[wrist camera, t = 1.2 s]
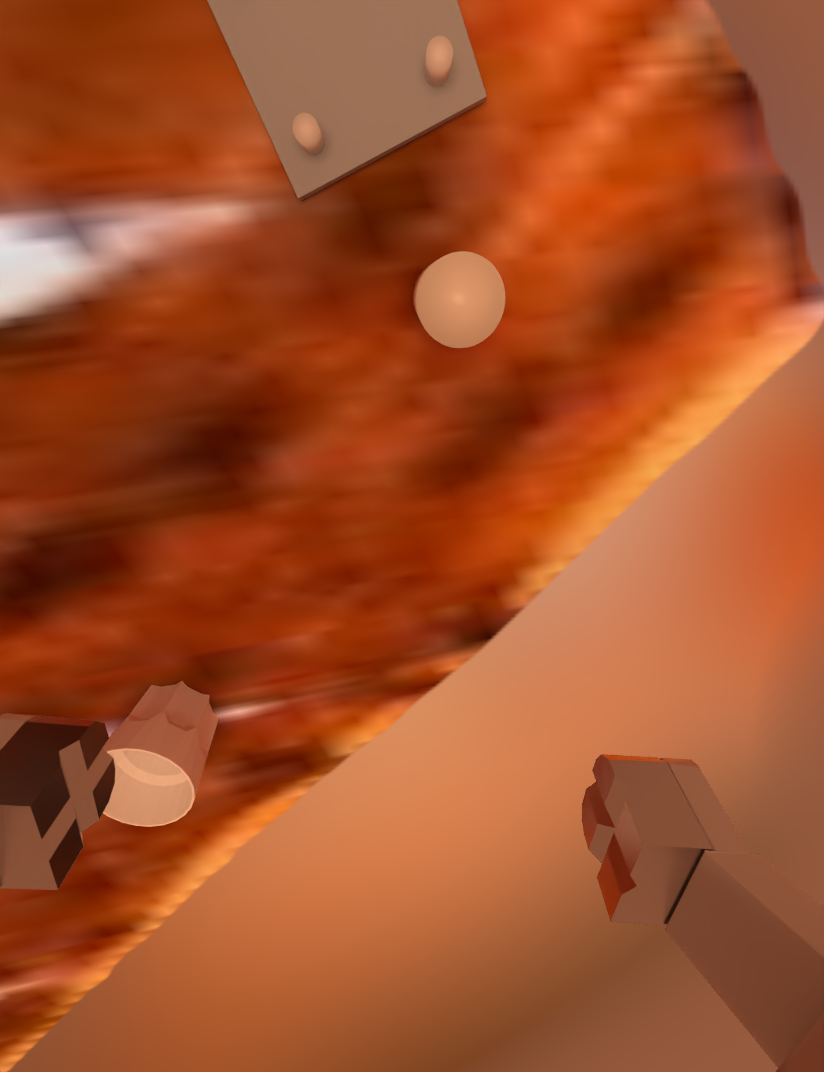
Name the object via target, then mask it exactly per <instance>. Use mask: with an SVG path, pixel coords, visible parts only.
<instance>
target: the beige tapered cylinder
mask: <svg viewBox="0 0 824 1072" xmlns="http://www.w3.org/2000/svg"><path fill="white" fill-rule="evenodd" d="M209 698H210V695H206V694H201V693H199V692H197V691H195V690H193V689H191V688H189V687H187V686H186V685H185V684H184V682H183V681H181V682H179V683H177V684H176V685H168V686H156V685H151V686H150V688H149V689H148V690H147V692H146V693H145V694H144V696H143V697H142V698H141V700H140V701H139V702H138V704H137V705H136V706H135V708H134V709H133V710H132V712H131V713H130V715H129V716H128V717H127V718H126V719H125V720H124V721H123V722H122V723H121V724H120V725H119V726H118V728H117V729H116V730H115V731H114V732H113V733H112V735H111V736H110V737H109V739H108V740H107V742H106V743H105V745H104V746H103V749H104V750H105V751H106V752H107V753H108V754H109V755H110V756H112V757H113V759H114V764H115V784H114V787H113V790H112V793H111V796H110V800H109V803H108V804H107V806H106V808H105V810H104V812H103V813H104V814H105V815H107V816H108V817H110V818H113V819H115V820H117V821H120V822H122V823H127V824H131V825H135V826H149V827H151V826H160V825H165V824H168V823H171V822H174V821H177V820H178V819H180V818H181V817H183V816H184V815H186V813H187V812H188V811H189V810H190V809H191V807H192V805H193V802H194V799H195V795H196V792H197V788H198V785H199V782H200V778H201V775H202V771H203V768H204V765H205V761H206V758H207V755H208V751H209V748H210V745H211V742H212V739H213V736H214V733H215V730H216V726H217V723H218V720H219V718H218V717H217V716H216V715H215V714H214V713H213V711H212V708H211V705H210V703H209Z"/></svg>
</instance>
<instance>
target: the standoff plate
mask: <svg viewBox="0 0 824 1072" xmlns="http://www.w3.org/2000/svg"><path fill="white" fill-rule="evenodd" d="M207 1H208V3H209V5H210V8H211V10H212V12H213V14H214V16H215V18H216V21H217V23H218V25H219V27H220V29H221V32H222V34H223V36H224V38H225V40H226V42H227V45H228V47H229V49H230V51H231V53H232V55H233V58H234V60H235V62H236V64H237V66H238V69H239V71H240V73H241V75H242V77H243V79H244V82H245V84H246V86H247V88H248V90H249V93H250V95H251V97H252V99H253V101H254V103H255V106H256V108H257V110H258V112H259V114H260V116H261V119H262V121H263V123H264V125H265V127H266V130H267V132H268V134H269V136H270V138H271V140H272V143H273V145H274V147H275V149H276V151H277V154H278V156H279V158H280V160H281V162H282V164H283V167H284V169H285V171H286V173H287V175H288V177H289V180H290V182H291V184H292V186H293V188H294V191H295V193H296V195H297V197H298V199H299V200H301V201H302V200H304V199H305V198H307V197H309V196H311V195H313V194H315V193H317V192H318V191H320V190H322V189H324V188H326V187H328V186H330V185H331V184H333V183H335V182H337V181H339V180H341V179H343V178H344V177H346V176H348V175H350V174H352V173H354V172H355V171H357V170H359V169H361V168H363V167H365V166H367V165H368V164H370V163H372V162H374V161H376V160H378V159H380V158H381V157H383V156H385V155H387V154H389V153H391V152H393V151H394V150H396V149H398V148H400V147H402V146H404V145H406V144H407V143H409V142H411V141H413V140H415V139H417V138H418V137H420V136H422V135H424V134H426V133H428V132H430V131H431V130H433V129H435V128H437V127H439V126H441V125H443V124H444V123H446V122H448V121H450V120H452V119H454V118H456V117H457V116H459V115H461V114H463V113H465V112H467V111H468V110H470V109H472V108H474V107H476V106H478V105H480V104H481V103H483V102H484V101H485V99H486V97H487V95H486V92H485V89H484V86H483V83H482V79H481V76H480V73H479V70H478V66H477V63H476V60H475V57H474V53H473V50H472V47H471V44H470V40H469V37H468V34H467V31H466V27H465V24H464V21H463V18H462V14H461V11H460V8H459V5H458V1H457V0H207Z"/></svg>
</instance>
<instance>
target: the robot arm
mask: <svg viewBox="0 0 824 1072" xmlns="http://www.w3.org/2000/svg"><path fill="white" fill-rule="evenodd" d="M108 739H109V737H108V733H107V729H106V726H105V723H103V722H99V721H91V720H81V719H70V718H59V717H49V716H38V715H36V716H33V715H22V714H10V713H4V714H2V715H0V888H9V889H46V890H58V889H59V887H60V886H61V884H62V882H63V880H64V879H65V877H66V875H67V874H68V872H69V870H70V869H71V867H72V865H73V863H74V862H75V860H76V858H77V857H78V855H79V853H80V852H81V850H82V848H83V840H82V834H81V832H82V831H84V830H85V829H86V828H88V827H89V826H91V825H92V824H93V823H95V822H96V821H98V820H99V819H100V817H101V815H102V813H103V812H104V810H105V808H106V806H107V804H108V803H109V800H110V796H111V793H112V790H113V787H114V784H115V764H114V759H113V757H112V756H110V755H109V754H108V753H107V752H106V751H105V750H104V749H103V746H104V745H105V743H106V742H107V740H108ZM593 773H594V776H595V779H596V782H595V783H594V784H592V785H591V786H590V787H588V788H587V789H586V792H585V796H584V800H583V803H582V823H583V829H584V835H585V839H586V842H587V846H588V849H589V850H590V851H591V852H592V854H593V855H595V857H596V858H597V859H598V860H599V861H600V862H601V863H602V865H601V868H600V870H599V873H598V876H597V879H598V882H599V885H600V889H601V892H602V895H603V898H604V901H605V905H606V908H607V911H608V914H609V918H610V921H612V922H623V923H633V924H645V925H656V926H666V928H665V930H666V931H667V932H668V934H669V935H670V936H671V937H672V939H673V940H674V941H675V942H676V943H677V945H679V947H680V948H681V950H682V951H683V952H684V953H685V954H686V956H687V957H688V958H689V959H690V960H691V962H692V963H693V964H694V965H695V966H696V968H697V969H698V970H699V972H700V973H701V974H702V975H703V977H704V978H705V979H706V980H707V981H708V983H709V984H710V985H711V986H712V988H713V989H714V990H715V991H716V992H717V994H718V995H719V996H720V997H721V999H722V1000H723V1001H724V1002H725V1003H726V1005H727V1006H728V1007H729V1008H730V1010H731V1011H732V1012H733V1013H734V1014H735V1016H736V1017H737V1018H738V1019H739V1020H740V1022H741V1023H742V1024H743V1025H744V1027H745V1028H746V1029H747V1030H748V1031H749V1033H750V1034H751V1035H752V1037H753V1038H754V1039H755V1040H756V1041H757V1043H758V1044H759V1045H760V1046H761V1048H762V1049H763V1050H764V1051H765V1052H766V1054H767V1055H768V1056H769V1057H770V1059H771V1060H772V1061H773V1062H774V1063H775V1065H776V1066H777V1067H778V1069H777V1071H776V1072H824V906H823V905H822V904H820V903H819V902H818V901H817V900H815V899H814V898H813V897H812V896H810V895H809V894H808V893H806V892H805V891H804V890H803V889H802V888H801V887H799V886H798V885H797V884H796V883H794V882H793V881H792V880H791V879H789V878H788V877H787V876H786V875H784V874H783V873H782V872H781V871H780V870H778V869H777V868H776V867H774V866H773V865H772V864H771V863H770V862H768V861H767V860H766V859H765V858H763V857H762V856H761V855H760V854H752V853H749V851H748V850H747V848H746V846H745V844H744V843H743V841H742V840H741V838H740V836H739V834H738V833H737V831H736V829H735V828H734V826H733V824H732V822H731V821H730V819H729V817H728V816H727V814H726V812H725V810H724V809H723V807H722V805H721V804H720V802H719V800H718V798H717V797H716V795H715V794H714V792H713V790H712V788H711V787H710V785H709V783H708V781H707V780H706V778H705V776H704V775H703V773H702V771H701V770H700V768H699V766H698V765H697V764H696V763H695V762H693V761H692V760H686V759H669V758H657V757H639V756H621V755H604V754H602V755H600V756H599V757H598V758H597V759H596V762H595V764H594V768H593Z"/></svg>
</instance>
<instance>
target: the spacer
mask: <svg viewBox="0 0 824 1072" xmlns="http://www.w3.org/2000/svg"><path fill="white" fill-rule="evenodd" d="M413 305H414V309H415V311H416V314H417V316H418V317H419V319H420V321H421V323H422V325H423V327H424V328H425V330H426V331H427V332H428V334H429V335H430V336H431V337H432V338H433V339H435V340H436V341H437V342H439V343H441V344H443V345H445V346H448V347H453V348H466V347H471V346H474V345H476V344H478V343H480V342H482V341H483V340H485V339H486V338H487V337H488V336H490V335H491V334H492V332H493V331H494V330H495V329H496V327H497V326H498V324H499V322H500V320H501V318H502V315H503V312H504V307H505V288H504V284H503V281H502V278H501V276H500V274H499V272H498V271H497V269H496V268H495V267H494V265H493V264H492V263H491V262H490V261H488V260H487V259H486V258H484V257H482V256H480V255H478V254H475V253H472V252H464V251H461V252H454V253H450V254H447V255H445V256H443V257H441V258H440V259H438V260H437V261H435V262H434V263H432V264H431V265H429V266H428V267H427V268H425V269H424V270H423V271H422V272H421V274H420V275H419V277H418V278H417V280H416V283H415V285H414V289H413Z"/></svg>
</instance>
